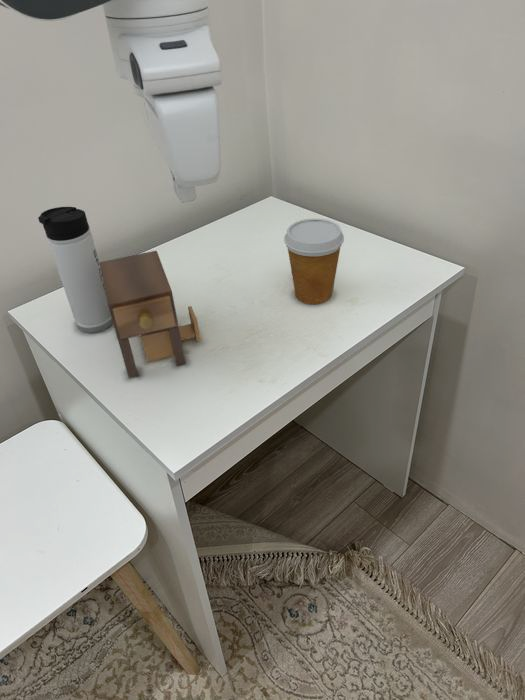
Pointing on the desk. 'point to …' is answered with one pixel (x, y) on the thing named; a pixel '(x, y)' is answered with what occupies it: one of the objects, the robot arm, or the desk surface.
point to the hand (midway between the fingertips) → (185, 196)
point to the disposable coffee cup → (313, 258)
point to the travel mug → (78, 266)
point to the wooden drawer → (168, 339)
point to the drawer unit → (140, 303)
